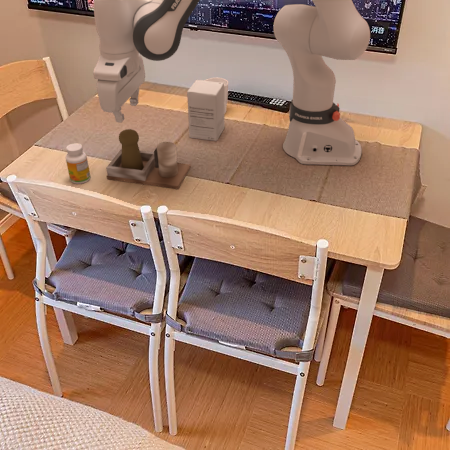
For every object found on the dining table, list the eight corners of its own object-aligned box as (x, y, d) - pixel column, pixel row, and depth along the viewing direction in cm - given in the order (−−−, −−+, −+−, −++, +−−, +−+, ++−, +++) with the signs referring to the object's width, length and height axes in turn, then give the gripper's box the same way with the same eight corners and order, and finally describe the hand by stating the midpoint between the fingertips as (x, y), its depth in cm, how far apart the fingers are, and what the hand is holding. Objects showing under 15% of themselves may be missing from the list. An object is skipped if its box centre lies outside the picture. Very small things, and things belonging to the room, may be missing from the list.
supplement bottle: (66, 177, 142) (59, 145, 136) (85, 171, 144) (79, 139, 138) (75, 186, 138) (68, 154, 132) (94, 179, 141) (88, 147, 135)
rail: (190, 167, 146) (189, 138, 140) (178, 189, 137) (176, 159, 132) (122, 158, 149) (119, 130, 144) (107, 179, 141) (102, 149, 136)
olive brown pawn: (147, 164, 145) (144, 128, 138) (136, 175, 141) (132, 139, 134) (128, 160, 147) (123, 124, 140) (117, 171, 142) (111, 134, 136)
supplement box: (197, 124, 166) (196, 78, 157) (225, 128, 164) (225, 82, 155) (188, 137, 159) (186, 91, 150) (216, 141, 157) (216, 94, 148)
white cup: (228, 116, 170) (228, 87, 164) (203, 116, 170) (202, 87, 164) (228, 106, 176) (228, 77, 170) (204, 106, 176) (203, 77, 170)
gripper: (124, 43, 134) (131, 94, 142) (89, 75, 118) (99, 130, 127) (148, 45, 133) (153, 96, 141) (115, 77, 117) (123, 133, 126)
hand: (127, 112), depth 134 cm, fingers open, 8 cm apart
